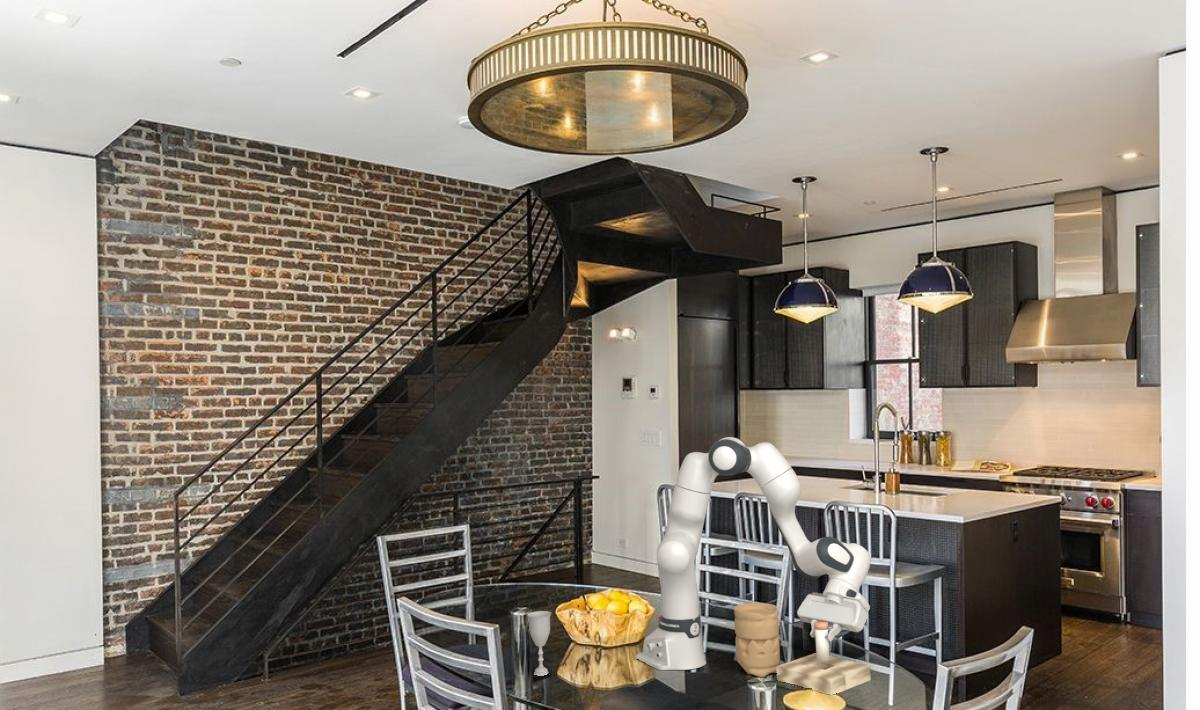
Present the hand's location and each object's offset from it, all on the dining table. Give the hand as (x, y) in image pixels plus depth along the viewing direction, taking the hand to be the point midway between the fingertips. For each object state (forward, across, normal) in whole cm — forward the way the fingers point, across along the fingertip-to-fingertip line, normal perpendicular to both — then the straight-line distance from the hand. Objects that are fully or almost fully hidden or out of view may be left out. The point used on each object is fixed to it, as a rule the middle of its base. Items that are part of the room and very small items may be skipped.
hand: (820, 638), depth 248 cm
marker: (+4, 0, +5) cm, 6 cm away
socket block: (+8, 0, +9) cm, 12 cm away
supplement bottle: (-8, -20, +25) cm, 33 cm away
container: (+12, -19, +5) cm, 23 cm away
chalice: (+44, -61, -28) cm, 81 cm away
